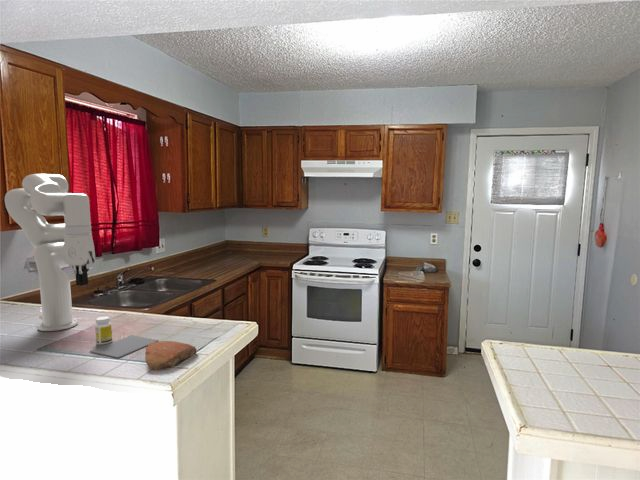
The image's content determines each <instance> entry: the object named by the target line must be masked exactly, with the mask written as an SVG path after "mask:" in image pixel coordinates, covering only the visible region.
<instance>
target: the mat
mask: <svg viewBox="0 0 640 480" xmlns="http://www.w3.org/2000/svg"><path fill="white" fill-rule="evenodd" d="M153 342H159V339H155V338H150V337H149V338H148V337H144V336H137V335H132V334H131V335H129V336H125V337H122V338H120V339H117V340H116V341H112V342H110V343H108V344H103V345H101V346H99V347H96V348H94V349H92V350H89V353H92V354H95V355H101V356H104V357H105V356H106V357H110V358H115V359H120V358H122V357H125V356H127V355H129V354H131V353H135V352H137V351H139V350H141V349H144V348H147V346H148V345H149V344H150V343H153Z"/></svg>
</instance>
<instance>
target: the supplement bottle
mask: <svg viewBox="0 0 640 480" xmlns="http://www.w3.org/2000/svg"><path fill="white" fill-rule="evenodd" d="M110 321H111V318H110V316H99V317H97V318H95V324H94V325H95V326H94V328H95V329H94V330H95V341H96V342H95V343H96V345H101V346H104V345H107V344H109V343H112V342H113V330H112V323H111V322H110Z"/></svg>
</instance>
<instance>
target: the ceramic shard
mask: <svg viewBox="0 0 640 480" xmlns="http://www.w3.org/2000/svg"><path fill="white" fill-rule="evenodd" d="M197 351H198V350H197V348H196V346H194V345H192V344H188V343H184V342H180V341H175V340H174V341H173V340H162V341H161V340H160V341H159V340H158V342H153V343H150V344H149V345H148V346H146V347H145V352H144V353H145V356H144V359H145V363H146V364H147V366H149V367H150V369H151V370H153V371H155V370H156V371H157V370H162V369H169V368H174V367H175V366H176V365H177V364H179V363H180V362H181V361H182V360H187V359H188V358H190V357H194V356H195V355H196V354H197Z"/></svg>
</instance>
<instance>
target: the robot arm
mask: <svg viewBox="0 0 640 480" xmlns="http://www.w3.org/2000/svg"><path fill="white" fill-rule="evenodd" d="M21 185H22V187H21V188H20V187H19V188H13V189H9V190H8V191H7V192H6V193H5V196H4V204H5V208H6V211H7V213H8V215H9V216H10V217H11V218H12V220H13V222H15V223H16V224H18V226H19V227H20V228H21V230H22V231H23V234H25V236H26V239H27V240H28V242H29V243H30V244H31V246H32V247H33V248H35V249H34V252H33V257H34V261H35V262H34V263H35V266H36V270H37V274H38V280H39V283H38V284H39V292H40V304H41V315H40V316H39V317H38V319H39V320H41V321H42V322H41V323H40V324H39V325H38V326H37V328H38V330H39V331H40V332H56V331H62V330H67V329H71V328H73V327H75V326H77V325H78V322H79V321H78V319H76V318H74V317H73V307H72V306H73V305H72V304H73V303H72V292H71V291H72V290H71V281H70V277H69V275H68V274H67V273H65V271H63V269H64V268H67V267H70V268H72V269H73V273H74V275H75V285H76V286H85V285H88V284H89V278H88V276H89V272H90V271H89V270H90V269H93V268H94V263H96V251H95V243H94V240H93V239H94V238H93V235H92V223H91V212H90V210H91V209H90V206H91V205H90V198H89V196H88V195H87V194H86V193H75V192H74V193H72V192H69V183H68V180H67V179H66V177H64V176H63V175H61V174H58V173H57V174H55V173H53V174H52V173H33V174H32V173H31V174H28V175H26V176H25V177H24V178H23V179H22V183H21ZM44 216H46V217H56V216H63V219H64V220H63V221H64V223H48V221H47V220H46V218H45V217H44Z"/></svg>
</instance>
